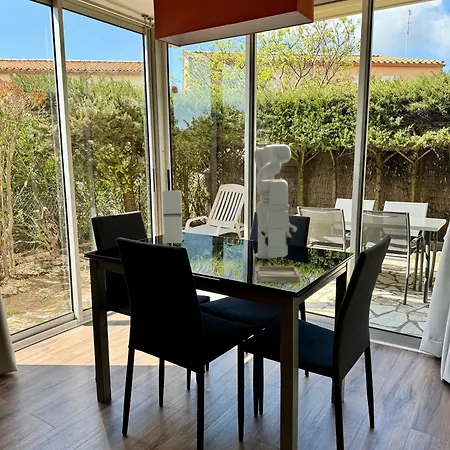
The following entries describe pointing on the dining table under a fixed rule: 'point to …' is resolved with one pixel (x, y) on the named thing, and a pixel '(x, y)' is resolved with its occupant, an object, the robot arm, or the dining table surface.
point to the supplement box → (277, 243)
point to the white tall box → (172, 216)
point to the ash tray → (278, 274)
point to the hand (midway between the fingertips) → (277, 245)
